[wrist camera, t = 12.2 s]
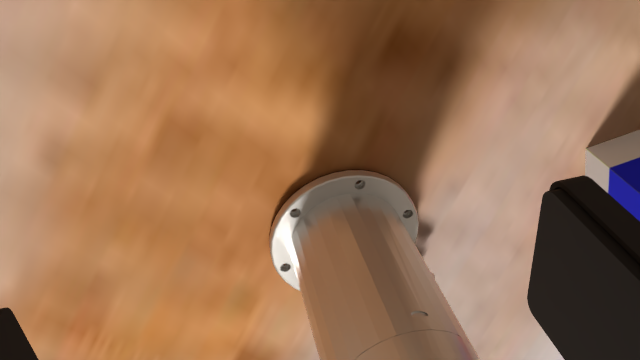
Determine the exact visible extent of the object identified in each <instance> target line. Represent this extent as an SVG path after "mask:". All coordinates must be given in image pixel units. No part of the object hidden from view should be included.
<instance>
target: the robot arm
mask: <svg viewBox="0 0 640 360" xmlns="http://www.w3.org/2000/svg"><path fill="white" fill-rule="evenodd" d="M418 225H419V222H418V215H417V211H416V208H415V206H414V203H413V201H412V200H411V198H410V197H409V195H408V193H407V192H406V191H405V190H404V189H403V188H402V187H401V186H400V185H399V184H398V183H397V182H395V181H394V180H392V179H391V178H389V177H387V176H384V175H382V174H379V173H376V172H371V171H365V170H347V171H341V172H336V173H332V174H329V175H326V176H323V177H320V178H318V179H316V180H314V181H312V182H310V183H308V184H306V185H305V186H303V187H302V188H301V189H299V190H298V191H297V192H295V193H294V194H293V195H292V196H291V197H290V198H289V199H288V200H287V201H286V202H285V203H284V204H283V206H282V207H281V209H280V210H279V212H278V214H277V215H276V217H275V219H274V222H273V224H272V227H271V231H270V238H269V245H270V253H271V257H272V261H273V264H274V266H275V269H276V271H277V272H278V274H279V275H280V276H281V277H282V278H283V280H284V281H285V282H287V283H288V284H289V285H291V286H292V287H293V288H295V289H297V290H299V291H301V294H302V298H303V301H304V305H305V308H306V312H307V315H308V319H309V322H310V326H311V329H312V333H313V337H314V340H315V344H316V347H317V351H318V354H319V358H320V360H480V358H479V357H478V355H477V353H476V351H475V350H474V348H473V346H472V344H471V343H470V341H469V339H468V337H467V336H466V334H465V332H464V330H463V328H462V327H461V325H460V323H459V321H458V320H457V318H456V316H455V314H454V313H453V311H452V309H451V307H450V305H449V304H448V302H447V300H446V298H445V297H444V295H443V293H442V291H441V290H440V288H439V286H438V284H437V283H436V281H435V276H434V274H433V273H432V272H430V270H429V268H428V267H427V265H426V263H425V261H424V260H423V258H422V256H421V254H420V252H419V251H418V249H417V247H416V245H415V241H416V238H417V235H418ZM527 299H528V305H529V308H530V310H531V313H532V314H533V316H534V317H535V319H536V320H537V322H538V323H539V324H540V326H541V327H542V329H543V330H544V331H545V333H546V334H547V336H548V337H549V338H550V340H551V341H552V343H553V344H554V345H555V347H556V348H557V349H558V351H559V352H560V354H561V355H562V356H563V358H564V359H565V360H640V221H639V220H637V219H636V218H635V217H634V216H633V215H632V214H631V213H630V212H628V211H627V210H626V209H625V208H624V207H623V206H622V205H621V204H619V203H618V202H617V201H616V200H615V199H614V198H613V197H612V196H610V195H609V194H608V193H607V192H606V191H605V190H604V189H603V188H601V187H600V186H599V185H598V184H597V183H596V182H595V181H594V180H593V179H591V178H590V177H588V176H579V177H575V178H570V179H565V180H560V181H556V182H554V183H553V184H552V185H551V187H550V190H549V191H547V192H545V193H544V195H543V198H542V204H541V210H540V217H539V223H538V230H537V236H536V243H535V249H534V256H533V262H532V269H531V276H530V282H529V289H528V296H527ZM0 360H38V358H37V356H36V354H35V353H34V351H33V349H32V347H31V345H30V343H29V342H28V340H27V338H26V336H25V334H24V332H23V330H22V329H21V327H20V325H19V323H18V321H17V319H16V318H15V316H14V314H13V312H12V311H11V309H9V308H2V309H0Z"/></svg>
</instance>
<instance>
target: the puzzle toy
mask: <svg viewBox="0 0 640 360" xmlns="http://www.w3.org/2000/svg"><path fill="white" fill-rule="evenodd" d="M585 176H588V177H590V178H591V179H593V180H594V181H595V182H596V183H597V184H598V185H599V186H600V187H601V188H603V189H604V190H605V191H606V192H607V193H608V194H609V195H610V196H612V197H613V198H614V199H615V200H616V201H617V202H618V203H619V204H621V205H622V206H623V207H624V208H625V209H626V210H627V211H628V212H630V213H631V214H632V215H633V216H634V217H635V218H636V219H637V220H639V221H640V130H637V131H634V132H632V133H629V134H626V135H623V136H620V137H617V138H614V139H611V140H609V141H606V142H603V143H600V144H597V145H594V146H591V147H589V148H586V165H585Z"/></svg>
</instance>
